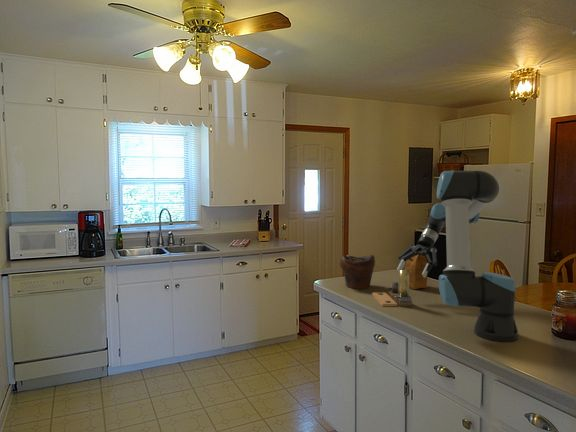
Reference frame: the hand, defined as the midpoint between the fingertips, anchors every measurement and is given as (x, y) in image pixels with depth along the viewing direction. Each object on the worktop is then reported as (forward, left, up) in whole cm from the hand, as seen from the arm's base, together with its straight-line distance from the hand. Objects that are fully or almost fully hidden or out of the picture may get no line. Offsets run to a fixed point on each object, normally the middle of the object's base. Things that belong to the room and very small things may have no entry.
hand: (410, 273), depth 205 cm
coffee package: (+29, -13, -14) cm, 34 cm away
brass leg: (-4, +5, -12) cm, 13 cm away
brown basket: (+31, +19, -14) cm, 39 cm away
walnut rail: (+3, +4, -14) cm, 15 cm away
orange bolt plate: (+3, +12, -14) cm, 18 cm away
